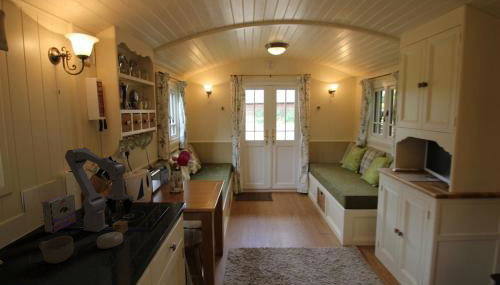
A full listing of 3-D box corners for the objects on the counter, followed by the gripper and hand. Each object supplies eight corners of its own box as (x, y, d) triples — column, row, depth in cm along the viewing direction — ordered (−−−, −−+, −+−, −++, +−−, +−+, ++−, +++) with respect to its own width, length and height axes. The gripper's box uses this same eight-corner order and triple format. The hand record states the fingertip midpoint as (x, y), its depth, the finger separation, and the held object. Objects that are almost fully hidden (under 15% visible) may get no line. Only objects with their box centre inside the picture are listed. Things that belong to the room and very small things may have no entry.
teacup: (80, 255, 115) (79, 237, 114) (55, 269, 105) (53, 250, 104) (57, 250, 119) (56, 233, 118) (31, 263, 109) (29, 244, 108)
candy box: (69, 221, 151) (66, 193, 149) (77, 222, 149) (74, 194, 147) (44, 232, 137) (41, 201, 135) (53, 233, 136) (50, 202, 134)
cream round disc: (91, 247, 122) (90, 241, 121) (108, 236, 132) (108, 231, 132) (112, 250, 119) (111, 244, 119) (128, 238, 130) (127, 233, 130)
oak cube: (113, 233, 135) (112, 224, 135) (119, 229, 140) (119, 220, 140) (121, 234, 134) (121, 225, 134) (128, 230, 139) (127, 221, 139)
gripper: (99, 189, 132) (102, 215, 133) (126, 190, 129) (128, 217, 131) (109, 185, 139) (111, 210, 140) (134, 186, 136) (136, 211, 138)
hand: (120, 213), depth 136 cm, fingers open, 7 cm apart
